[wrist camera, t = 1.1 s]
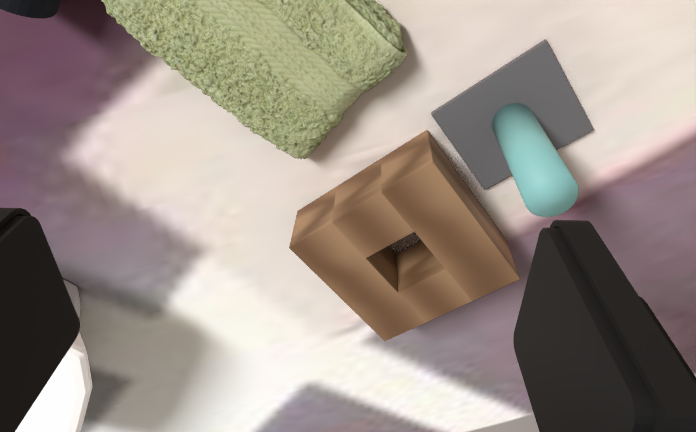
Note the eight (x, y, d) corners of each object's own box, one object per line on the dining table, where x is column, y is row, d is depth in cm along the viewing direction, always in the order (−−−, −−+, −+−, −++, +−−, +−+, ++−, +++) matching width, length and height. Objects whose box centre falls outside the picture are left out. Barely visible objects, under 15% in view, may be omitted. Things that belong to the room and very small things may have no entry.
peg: (522, 95, 36) (565, 163, 28) (540, 126, 37) (586, 200, 29) (484, 118, 37) (515, 190, 29) (503, 147, 38) (538, 225, 30)
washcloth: (203, -179, 28) (185, -183, 26) (418, 38, 35) (422, 52, 32) (100, 2, 34) (77, 14, 32) (300, 159, 41) (294, 179, 38)
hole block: (426, 130, 38) (432, 161, 34) (506, 240, 44) (519, 279, 40) (297, 211, 43) (289, 248, 39) (384, 301, 49) (384, 341, 45)
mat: (545, 39, 34) (546, 41, 34) (591, 127, 37) (593, 129, 37) (431, 112, 37) (431, 114, 37) (483, 187, 41) (484, 189, 40)
